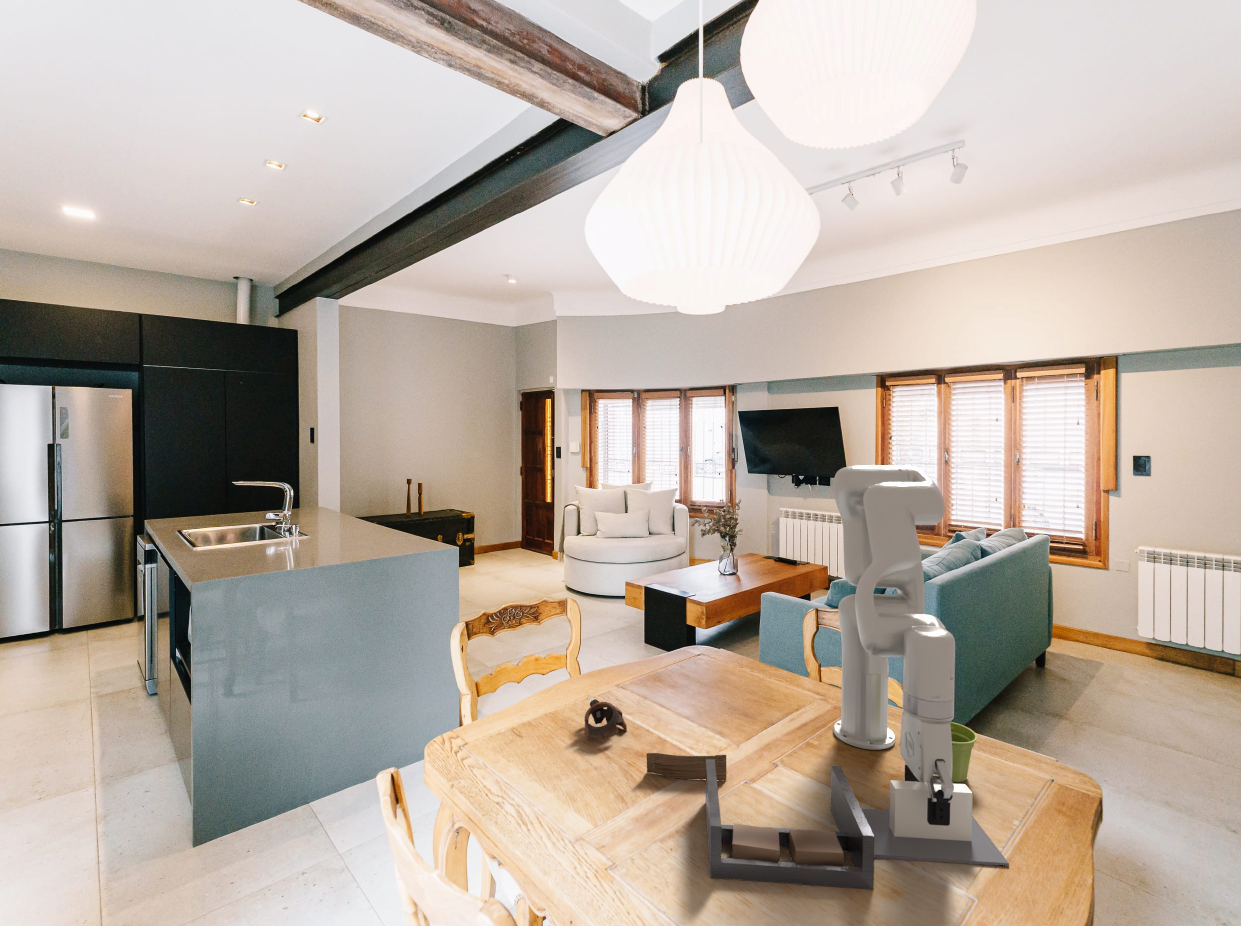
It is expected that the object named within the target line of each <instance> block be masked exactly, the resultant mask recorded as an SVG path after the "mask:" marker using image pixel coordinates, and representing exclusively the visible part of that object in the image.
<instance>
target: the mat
mask: <svg viewBox="0 0 1241 926" xmlns="http://www.w3.org/2000/svg"><path fill="white" fill-rule="evenodd" d="M861 809H862V812H863V814H864V816H865V818H866V820H867V822H868V824H869V826H870V828H871V830H872V832H873V834H874V859H876V858H877V859H888V860H889V859H891V860H904V861H907V860H908V861H922V862H935V863H952V864H965V863H968V864H967V865H970V864H969V863H972V864H971V865H979V864H981V865H982V864H983V865H982V866H994V865H997V866H998V865H1003V866H1002V867H1009V866H1010V863H1009V861H1008V860H1007V858H1006V857H1005V856H1004V855H1003V854H1002V852H1001V851H1000V850H999V848H998V847H997V846H996V844H995V843H994V842H993V840H992V839H991V838H990V837H989V836H988V834H987V833H986V832H985V830H984V829H983V828H982V825H980V823H978V821H977V820H976V818H975V817H974V816H973V815H972V841H960V840H944V839H928V838H912V837H896V836H894V834H893V832H892V831H891V829H890V827H889V822H890V809H877V808H876V809H872V808H861ZM973 863H974V864H973ZM981 865H980V866H981ZM1004 865H1005V866H1004ZM998 867H999V866H998Z"/></svg>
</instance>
